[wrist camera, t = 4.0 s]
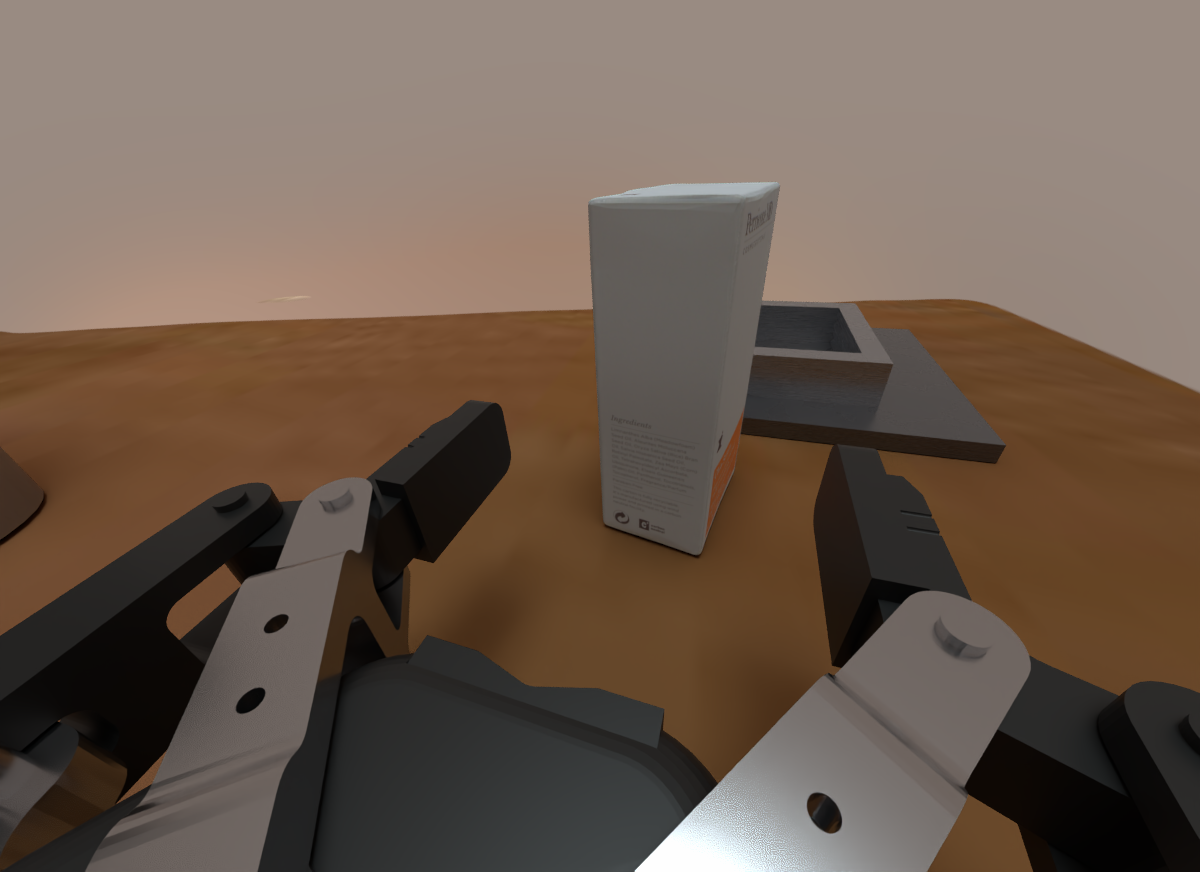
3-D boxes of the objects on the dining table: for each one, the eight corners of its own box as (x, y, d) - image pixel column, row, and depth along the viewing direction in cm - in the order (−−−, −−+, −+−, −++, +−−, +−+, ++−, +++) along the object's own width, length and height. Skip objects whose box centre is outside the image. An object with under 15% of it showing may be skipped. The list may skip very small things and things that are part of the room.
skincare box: (702, 561, 16) (746, 193, 9) (601, 527, 18) (579, 197, 11) (738, 470, 20) (784, 178, 14) (654, 450, 22) (661, 183, 16)
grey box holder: (623, 419, 25) (621, 363, 23) (669, 329, 37) (671, 289, 36) (995, 463, 20) (1034, 396, 18) (904, 342, 32) (920, 295, 31)
